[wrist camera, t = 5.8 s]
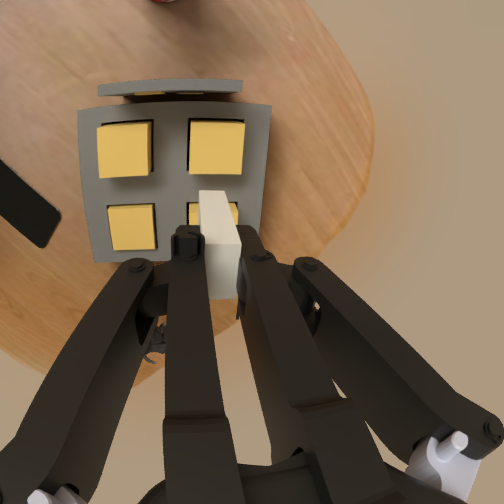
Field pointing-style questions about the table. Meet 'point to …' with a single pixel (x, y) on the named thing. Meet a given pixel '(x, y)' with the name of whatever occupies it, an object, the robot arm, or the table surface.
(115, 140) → the near-left button
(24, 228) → the smartphone
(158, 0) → the beverage can
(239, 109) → the button board
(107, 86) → the placard
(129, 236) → the far-left button
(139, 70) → the table surface
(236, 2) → the table surface
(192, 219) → the far-right button
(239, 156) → the near-right button
